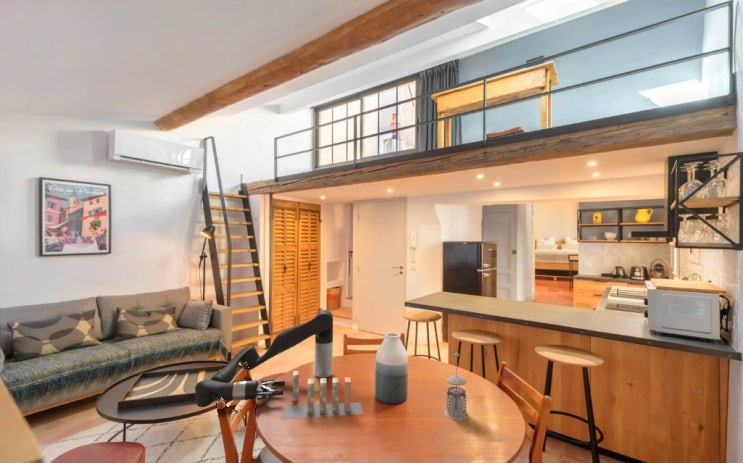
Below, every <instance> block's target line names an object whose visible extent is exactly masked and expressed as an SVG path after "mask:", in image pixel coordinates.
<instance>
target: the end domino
mask: <svg viewBox="0 0 743 463" xmlns="http://www.w3.org/2000/svg"><path fill="white" fill-rule="evenodd" d="M343 382H344V385H343V386H344V392H343V393H344V395H343V400H344V401H343V402H344V409H345V412H351V403H352V380H351V377H350V376H349V377H344V381H343Z"/></svg>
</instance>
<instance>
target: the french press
mask: <svg viewBox="0 0 743 463" xmlns="http://www.w3.org/2000/svg"><path fill="white" fill-rule="evenodd" d="M454 357H456V358H455V359H456V363H455V364H456V367H455V369H456V373H455V374H456V375H451V376H449V377H447V378H446V382H447V383H448V384H449V385H452V386H450V387H448V388H447V392H446V409H445V411H443V412H444V415H445V416H446V418H448V419H450V420H453V421H465V420H467V419H469V413H468V412H467V394H466V390H465V389H464V388H463V387H459V386H465V385H466V384H467V379H465V378H464V377H462V376H459V375H458V357H460V354H459V353H458V352H454Z"/></svg>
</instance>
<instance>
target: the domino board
mask: <svg viewBox="0 0 743 463" xmlns="http://www.w3.org/2000/svg"><path fill="white" fill-rule="evenodd" d="M307 406H308V404H306V405H288V406H287V405H286V406H285V405H284V407H283V412H282V415H281V420H285V419H286V420H288V419H289V420H290V419H305V418H318V417H319V418H321V417H322V418H323V417H325V418H326V417H339V416H340V417H342V416H357V415H364V412H363V408H362V403H361V402H351V412H345V409H344V403H342V402H341V403H338V412H336V413H332V403H326V413H320V404H314V413H313V414H307Z"/></svg>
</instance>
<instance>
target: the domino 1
mask: <svg viewBox="0 0 743 463" xmlns="http://www.w3.org/2000/svg"><path fill="white" fill-rule="evenodd" d="M299 397H300V370H294V371H293V373H292V400H291V401H292V402H298V401H299Z"/></svg>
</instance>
